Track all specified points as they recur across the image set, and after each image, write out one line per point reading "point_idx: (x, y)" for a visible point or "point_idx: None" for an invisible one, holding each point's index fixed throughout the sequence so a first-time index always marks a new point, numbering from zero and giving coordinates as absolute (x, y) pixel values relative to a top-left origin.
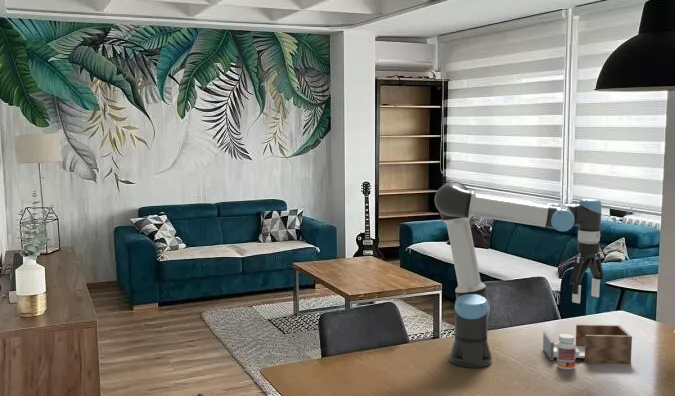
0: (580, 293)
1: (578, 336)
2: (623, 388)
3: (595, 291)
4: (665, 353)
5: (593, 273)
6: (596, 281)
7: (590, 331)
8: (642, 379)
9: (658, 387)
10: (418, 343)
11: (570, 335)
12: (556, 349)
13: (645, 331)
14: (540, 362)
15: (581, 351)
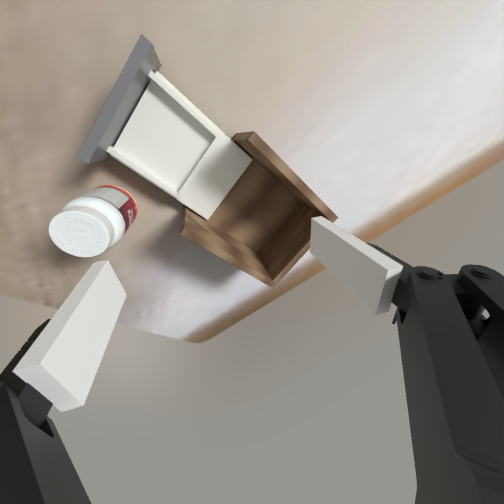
0: (108, 340)
1: (244, 143)
2: (141, 323)
3: (326, 251)
4: None
5: (415, 331)
6: (368, 291)
7: (274, 169)
8: (205, 309)
9: (197, 334)
10: None
11: (100, 237)
12: (156, 124)
13: (457, 148)
14: (64, 140)
15: (207, 181)
